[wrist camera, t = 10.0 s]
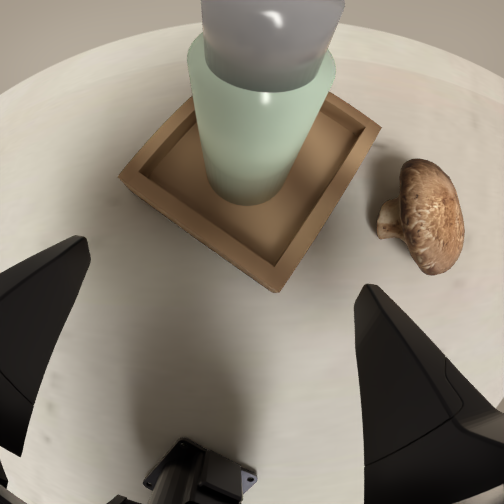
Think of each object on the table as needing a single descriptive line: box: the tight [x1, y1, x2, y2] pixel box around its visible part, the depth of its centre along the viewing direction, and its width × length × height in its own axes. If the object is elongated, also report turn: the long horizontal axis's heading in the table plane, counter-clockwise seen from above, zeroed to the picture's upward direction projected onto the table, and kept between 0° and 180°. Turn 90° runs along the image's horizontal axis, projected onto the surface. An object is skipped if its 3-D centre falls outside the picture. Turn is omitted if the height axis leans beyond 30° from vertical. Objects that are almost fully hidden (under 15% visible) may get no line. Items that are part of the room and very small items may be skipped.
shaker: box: [187, 0, 345, 206], centre depth 11 cm, size 5×5×13 cm
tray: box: [118, 92, 382, 293], centre depth 18 cm, size 14×12×2 cm
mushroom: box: [377, 159, 465, 275], centre depth 17 cm, size 8×8×6 cm
